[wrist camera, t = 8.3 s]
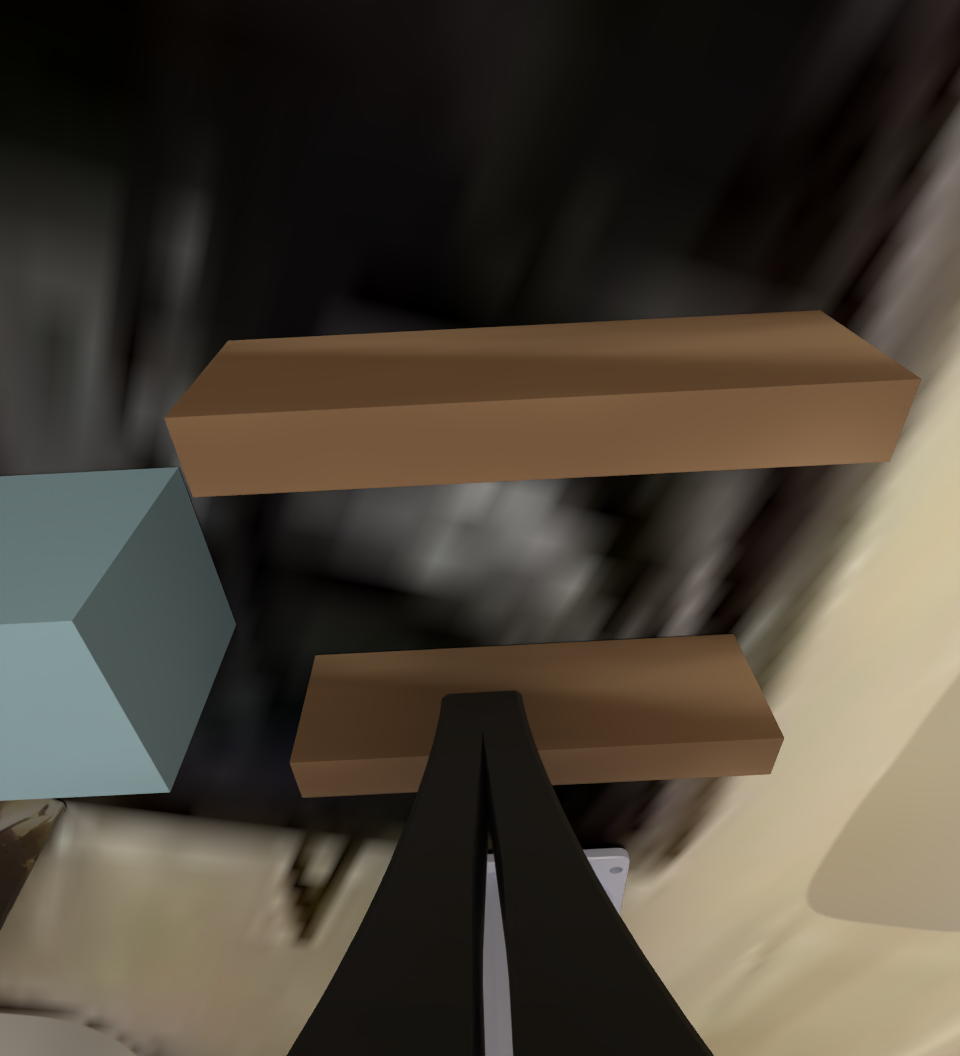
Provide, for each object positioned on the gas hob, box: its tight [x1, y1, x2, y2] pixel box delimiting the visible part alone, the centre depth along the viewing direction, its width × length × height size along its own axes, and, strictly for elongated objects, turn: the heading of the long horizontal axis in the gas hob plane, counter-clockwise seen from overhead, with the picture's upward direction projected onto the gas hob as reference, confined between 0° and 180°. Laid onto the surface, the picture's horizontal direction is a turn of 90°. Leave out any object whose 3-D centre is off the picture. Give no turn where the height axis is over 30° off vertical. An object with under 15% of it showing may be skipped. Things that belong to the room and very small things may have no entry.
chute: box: [164, 310, 921, 798], centre depth 15 cm, size 11×12×4 cm
